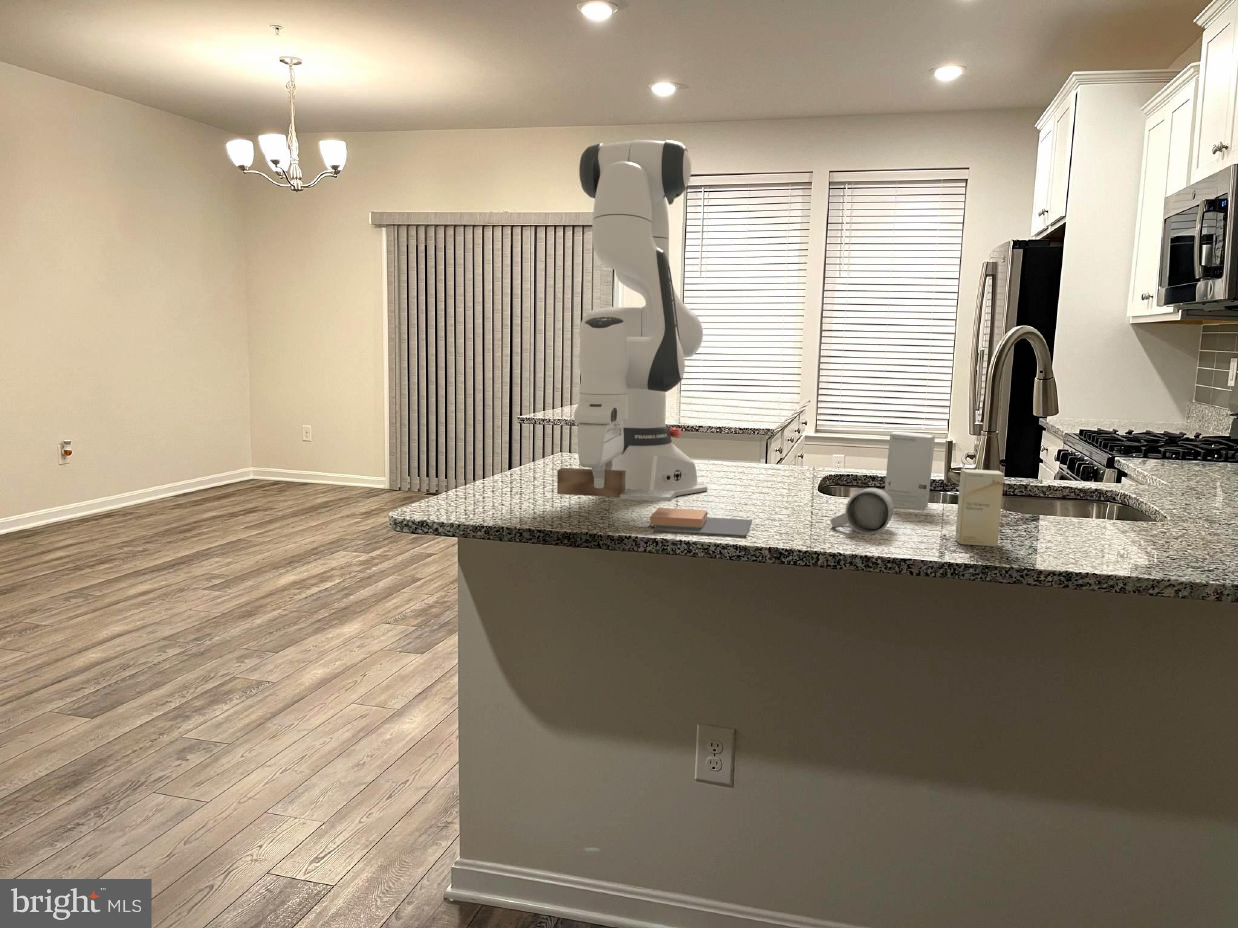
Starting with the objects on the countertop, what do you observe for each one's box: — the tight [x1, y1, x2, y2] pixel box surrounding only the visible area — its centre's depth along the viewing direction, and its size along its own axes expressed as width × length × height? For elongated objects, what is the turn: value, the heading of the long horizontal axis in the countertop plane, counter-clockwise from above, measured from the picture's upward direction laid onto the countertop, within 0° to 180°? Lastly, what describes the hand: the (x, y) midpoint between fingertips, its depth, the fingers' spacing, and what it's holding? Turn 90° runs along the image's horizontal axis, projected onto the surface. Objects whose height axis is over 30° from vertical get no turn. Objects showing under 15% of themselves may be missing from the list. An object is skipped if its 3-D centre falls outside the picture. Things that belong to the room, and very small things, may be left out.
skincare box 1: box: [883, 431, 936, 511], centre depth 180 cm, size 8×6×15 cm
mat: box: [652, 516, 753, 538], centre depth 160 cm, size 16×13×1 cm
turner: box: [556, 467, 677, 502], centre depth 163 cm, size 21×6×4 cm, turn 78°
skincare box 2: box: [954, 468, 1005, 547], centre depth 150 cm, size 6×4×12 cm
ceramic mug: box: [829, 487, 895, 536], centre depth 159 cm, size 11×8×8 cm
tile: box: [649, 507, 708, 529], centre depth 161 cm, size 2×8×9 cm
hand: (602, 485), depth 163 cm, fingers closed on turner, 3 cm apart
